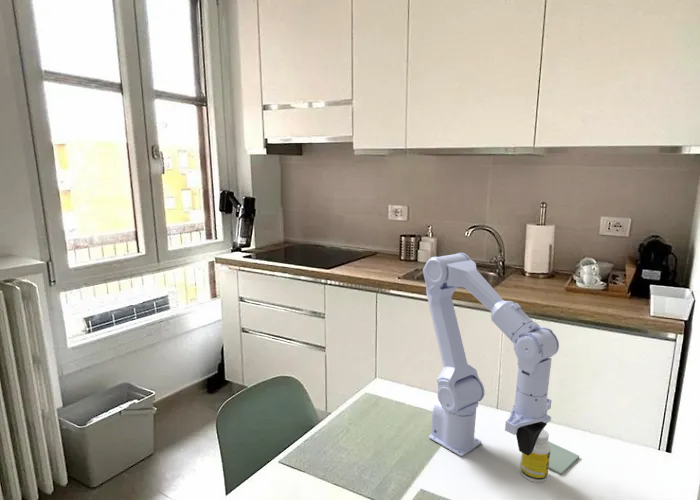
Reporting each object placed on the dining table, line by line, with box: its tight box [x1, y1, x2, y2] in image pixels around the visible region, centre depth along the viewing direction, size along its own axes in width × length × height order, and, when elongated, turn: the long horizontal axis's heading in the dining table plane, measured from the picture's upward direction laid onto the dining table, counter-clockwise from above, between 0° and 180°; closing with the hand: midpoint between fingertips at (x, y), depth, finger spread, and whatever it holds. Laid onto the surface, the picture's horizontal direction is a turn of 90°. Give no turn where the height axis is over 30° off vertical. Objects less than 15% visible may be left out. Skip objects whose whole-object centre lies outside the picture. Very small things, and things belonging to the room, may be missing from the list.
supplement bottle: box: [519, 428, 551, 483], centre depth 97 cm, size 5×5×10 cm
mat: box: [548, 440, 580, 476], centre depth 103 cm, size 8×9×1 cm
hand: (525, 451), depth 93 cm, fingers closed
